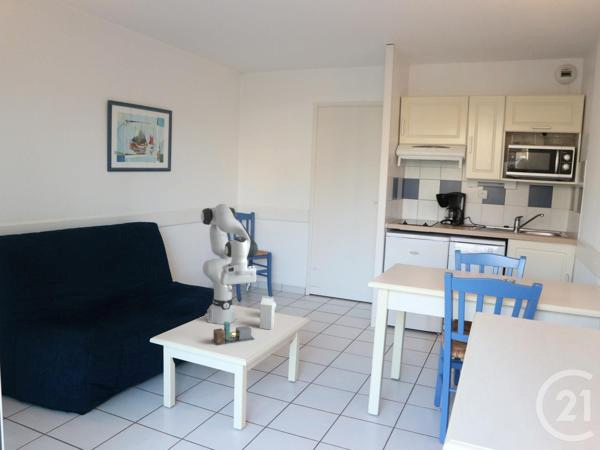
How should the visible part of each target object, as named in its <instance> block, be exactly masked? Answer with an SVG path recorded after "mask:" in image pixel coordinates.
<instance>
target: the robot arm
mask: <svg viewBox="0 0 600 450" xmlns="http://www.w3.org/2000/svg"><path fill="white" fill-rule="evenodd" d="M236 212H237V211H236V210H235V209H234V207H232V206H231V207H230V206H229V205H227V204H226V203H221V204H217V205H216V206H215V207H207V208H203V209H202V211H201V213H200V220H201V223H203V225H207V226H209V225H210V226H209V241H210V248H211V252H212V253H213V255H215V256H217V257H219V258H213V259H212V258H211V259H209V260H208V259H207V260H205V261H204V262H203V264H202V273H203V275H205V276H206V277H207V278H208V279H209V280H210V281H211V283H212V286H213V299H212V304H210V306H209V307H208V309H207V310H206V311H207V312H206V313H205V314H204V317H205V319H206V322H207V323H210V324H212V323H213V324H218V325H224V322H226V321H228V322H229V323H230V324H231V323H233V322H235V321H236V320H237V319H238V316H236V314H235V313H236V311H235V310H236V308H235V306H234V305H233V303H234V298H233V286H232V285H240V284H246V285H245V287H244V289H243V290H244V291H245V292H246V291H247V292H248V291H249V288H250V285H251V283H253V284H254V283H256V282H257V267H256V266H254V265H249V266H248V258H250V259H252V258H254V257H255V256H256V255H257V254H258V252H259V246H258V244H257V242H256V241H255V240H254V239H253V237H252V236H251V234H250V233H249V231H248V230H247V229H246V227H245V225H244V224H243V223H242V222H240V221H238V219H237V213H236ZM228 234H233V235H236V237H233V238H232V240H229V237H228Z"/></svg>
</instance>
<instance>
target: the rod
mask: <svg viewBox="0 0 600 450" xmlns="http://www.w3.org/2000/svg"><path fill="white" fill-rule="evenodd" d="M223 330H224V331H225V340H230V338H234V337H239V331H237V332H236V331H231V323H229V322H228V321H226V322H224V324H223Z"/></svg>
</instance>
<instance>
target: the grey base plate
mask: <svg viewBox="0 0 600 450" xmlns="http://www.w3.org/2000/svg"><path fill="white" fill-rule="evenodd" d="M237 331H239V337H234V338H230V340H225V342H224V343H216V342H215V341H214V340H213V339H211V341H212V343H214V344H215V345H216V346H220V345H221V346H222V345H226V344H227V345H228V344H235V343H241V342H248V341H254V340H255V338H254V337H253V335H252V328H250V327H249V326H248V325H244V326H237V327H235V332H237Z"/></svg>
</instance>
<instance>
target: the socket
mask: <svg viewBox="0 0 600 450" xmlns="http://www.w3.org/2000/svg"><path fill="white" fill-rule="evenodd" d="M212 333H213V340H214V341H215V342H216V343H224V342H225V331H224V328H214V329H213V332H212Z"/></svg>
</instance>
